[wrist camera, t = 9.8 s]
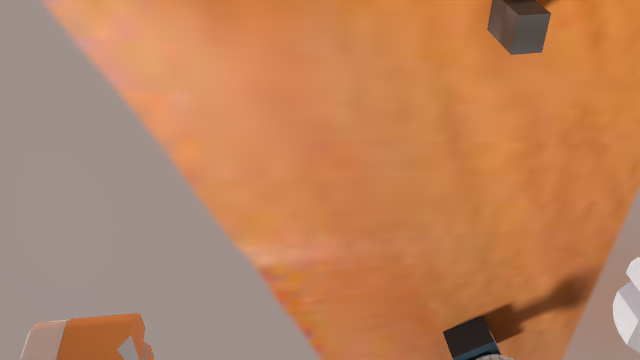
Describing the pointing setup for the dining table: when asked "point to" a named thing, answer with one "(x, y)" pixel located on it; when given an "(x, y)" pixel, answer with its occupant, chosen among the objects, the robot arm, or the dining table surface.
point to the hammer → (519, 25)
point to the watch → (473, 342)
